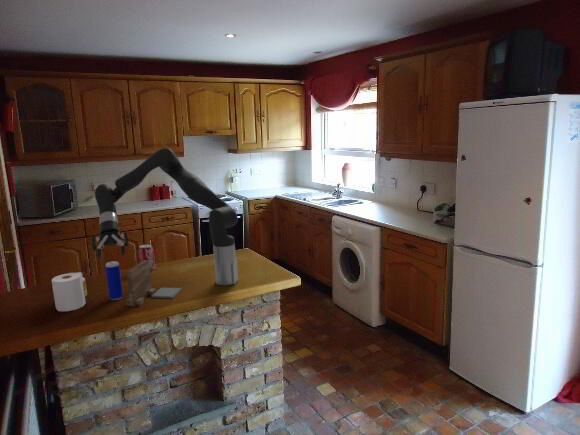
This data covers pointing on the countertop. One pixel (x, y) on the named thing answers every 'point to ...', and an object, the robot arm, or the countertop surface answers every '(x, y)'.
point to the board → (139, 284)
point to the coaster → (166, 293)
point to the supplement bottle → (83, 284)
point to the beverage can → (114, 280)
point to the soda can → (147, 255)
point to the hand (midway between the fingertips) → (111, 256)
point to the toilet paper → (68, 291)
